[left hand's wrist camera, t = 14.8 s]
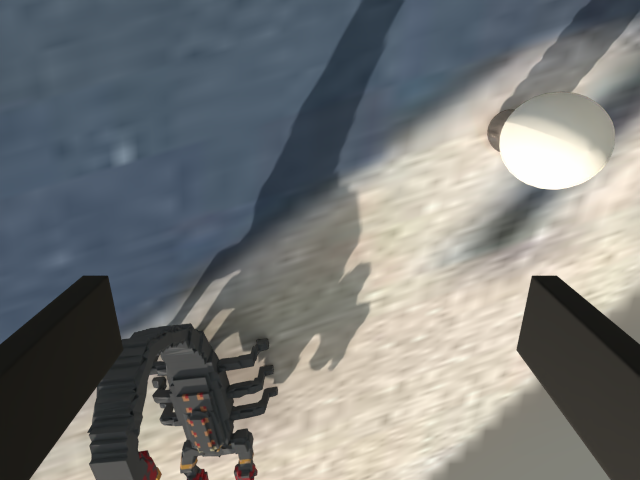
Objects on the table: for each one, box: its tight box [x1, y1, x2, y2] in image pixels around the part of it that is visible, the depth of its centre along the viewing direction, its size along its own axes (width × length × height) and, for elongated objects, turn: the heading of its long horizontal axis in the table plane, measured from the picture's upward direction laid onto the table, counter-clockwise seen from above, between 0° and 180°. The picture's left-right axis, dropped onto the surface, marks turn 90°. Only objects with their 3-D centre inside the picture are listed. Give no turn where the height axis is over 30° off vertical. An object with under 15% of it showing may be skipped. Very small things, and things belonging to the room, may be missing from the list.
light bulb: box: [488, 92, 615, 189], centre depth 31 cm, size 7×7×11 cm
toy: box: [87, 324, 278, 480], centre depth 37 cm, size 13×27×18 cm, turn 7°
